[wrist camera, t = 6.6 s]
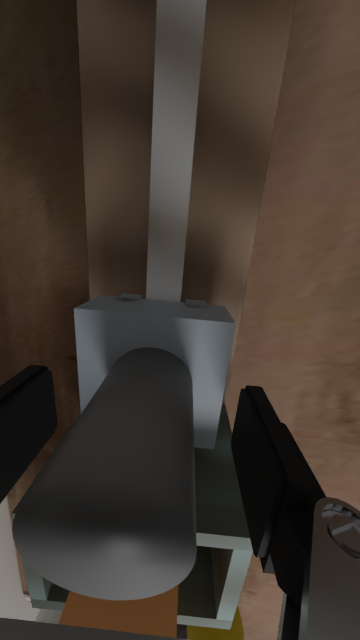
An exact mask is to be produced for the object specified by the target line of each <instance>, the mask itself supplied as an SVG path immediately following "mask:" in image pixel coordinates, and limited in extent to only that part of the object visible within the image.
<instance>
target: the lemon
mask: <svg viewBox="0 0 360 640" xmlns="http://www.w3.org/2000/svg"><path fill="white" fill-rule="evenodd" d="M187 639H190V640H244V632H243V625H242V620H241V616H240V612H239V608H238V605H237V608H236V611H235V615H234V618H233V621H232V625H231V628H230V630H229V629H220V628H211V627H202V626H193V625H187Z"/></svg>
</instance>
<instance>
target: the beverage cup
mask: <svg viewBox="0 0 360 640" xmlns="http://www.w3.org/2000/svg"><path fill="white" fill-rule="evenodd" d="M177 638H181V639H187V625H184V624H177Z"/></svg>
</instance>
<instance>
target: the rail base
mask: <svg viewBox="0 0 360 640" xmlns="http://www.w3.org/2000/svg"><path fill="white" fill-rule="evenodd" d="M295 4H296V0H77V21H78V44H79V67H80V90H81V113H82V137H83V160H84V183H85V206H86V229H87V252H88V275H89V298H90V300H91V299H94V298H96V297H98V296H100V295H106V296H117V297H118V296H120V295H122V294H123V293H125V294H136V295H143V299H150V300H162V301H173V302H184V303H185V302H186V299H192V300H203V301H206V303H207V305H217V306H225V307H226V309H227V310H228V312H229V314H230V315H231V317H232V318H233V320H234V321H235V323H236V324H235V329H234V335H233V341H232V347H231V353H230V359H229V365H228V371H227V377H226V383H225V389H224V395H223V401H222V406H221V412H220V418H219V424H218V430H217V436H216V442H215V448H214V449H207V448H197V447H194V460H195V500H196V541H197V553H196V560H195V564H194V566H193V568H192V570H191V572H190V573H189V574H188V576H187V577H186V578H185V579H184V580H183V581H182V582H181V583H180V584H178V608H177V624H184V625H193V626H202V627H211V628H220V629H229V630H230V628H231V625H232V621H233V618H234V615H235V611H236V608H237V604H238V601H239V597H240V594H241V591H242V587H243V584H244V580H245V577H246V573H247V570H248V566H249V563H250V560H251V556H252V553H253V549H252V545H251V540H250V535H249V530H248V526H247V521H246V516H245V512H244V507H243V502H242V497H241V493H240V488H239V483H238V479H237V474H236V469H235V464H234V460H233V455H232V450H231V438H232V432H231V428H230V423H229V419H228V415H227V410H226V406H225V404H226V399H227V393H228V387H229V382H230V376H231V370H232V364H233V359H234V353H235V347H236V342H237V336H238V330H239V324H240V319H241V313H242V307H243V302H244V296H245V290H246V284H247V279H248V273H249V267H250V262H251V256H252V250H253V244H254V239H255V233H256V227H257V222H258V216H259V210H260V204H261V199H262V193H263V187H264V182H265V176H266V170H267V164H268V159H269V153H270V147H271V141H272V136H273V130H274V124H275V119H276V113H277V107H278V101H279V96H280V90H281V84H282V79H283V73H284V67H285V61H286V56H287V50H288V44H289V39H290V33H291V27H292V21H293V16H294V10H295ZM80 415H81V412H80V413H79V415H78V416H77V418H76V419H75V421H74V422H73V424H72V425H71V427H70V428H69V430H68V431H67V433H66V434H65V436H64V437H63V439H62V440H61V441H60V443H59V444H58V446H57V447H56V449H55V450H54V452H53V453H52V455H51V456H50V458H49V459H48V461H47V462H46V464H45V465H44V467H43V468H42V470H41V471H40V472H39V474H38V475H37V477H36V478H35V480H34V481H33V483H32V484H31V486H30V487H29V489H28V490H27V492H26V493H25V495H24V496H23V498H22V499H21V501H20V502H19V503H18V505H17V506H16V508H15V509H14V511H13V512H12V516H13V520H14V517H15V514H16V512H17V510H18V508H19V507H20V505H21V504H22V502H23V501H24V499H25V498H26V496H27V495H28V493H29V492H30V490H31V489H32V487H33V486H34V484H35V483H36V481H37V480H38V478H39V477H40V475H41V474H42V472H43V471H44V469H45V468H46V466H47V465H48V463H49V462H50V460H51V459H52V457H53V456H54V454H55V453H56V451H57V450H58V448H59V447H60V445H61V444H62V442H63V441H64V439H65V438H66V436H67V435H68V433H69V432H70V430H71V429H72V427H73V426H74V424H75V423H76V421H77V420H78V418H79V417H80ZM21 557H22V556H21ZM22 562H23V566H24V571H25V575H26V580H27V585H28V589H29V594H30V598H31V603H32V607H33V608H40V609H49V610H58V611H63V609H64V606H65V603H66V600H67V598H68V595H69V592H70V591H69V590H67V589H64V588H62V587H60V586H58V585H56V584H54V583H52V582H51V581H49V580H47V579H46V578H44V577H43V576H41V575H40V574H39V573H37V572H36V571H35V570H34V569H33V568H32V567H31V566H30V565H29V564H28V563H27V562H26V561H25V560H24V558H23V557H22Z"/></svg>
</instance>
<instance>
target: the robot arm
mask: <svg viewBox="0 0 360 640" xmlns="http://www.w3.org/2000/svg"><path fill="white" fill-rule="evenodd" d="M56 426H57V416H56V407H55V398H54V389H53V379H52V372H51V371H50V370H48V368H47V367H46V366H39V365H30V366H28V367H27V368H25V369H24V370H22V371H21V372H20V373H18V374H17V375H15V376H14V377H13V378H11V379H10V380H8V381H7V382H6V383H4V384H3V385H1V386H0V503H1V502H2V501H3V499H4V498H5V497H6V495H7V494H8V493H9V491H10V490H11V489H12V487H13V486H14V485H15V483H16V482H17V481H18V479H19V478H20V477H21V475H22V474H23V473H24V471H25V470H26V469H27V467H28V466H29V465H30V463H31V462H32V461H33V459H34V458H35V457H36V455H37V454H38V453H39V451H40V450H41V449H42V447H43V446H44V445H45V443H46V442H47V441H48V439H49V438H50V437H51V435H52V434H53V433H54V431H55V429H56ZM231 450H232V455H233V460H234V464H235V469H236V474H237V479H238V483H239V488H240V493H241V497H242V502H243V507H244V512H245V516H246V521H247V526H248V530H249V535H250V540H251V545H252V549H253V553H254V555H255V557H260V560H261V565H262V569H263V573H271V574H275V576H276V579H277V583H278V586H279V587H280V588H281V589H282V590H283V591H284V595H283V602H282V609H281V616H280V623H279V630H278V638H277V640H360V511H359V510H357V509H356V508H354V507H353V506H351V505H350V504H348V503H346V502H344V501H341V500H339V499H336V498H331V497H326V496H325V494H324V492H323V490H322V488H321V487H320V485H319V483H318V481H317V479H316V478H315V476H314V474H313V472H312V471H311V469H310V467H309V465H308V463H307V462H306V460H305V458H304V456H303V454H302V453H301V451H300V449H299V447H298V445H297V444H296V442H295V440H294V438H293V436H292V435H291V433H290V431H289V429H288V428H287V426H286V425H285V424H284V423H281V422H280V420H279V418H278V416H277V415H276V413H275V411H274V409H273V407H272V405H271V403H270V401H269V400H268V398H267V396H266V394H265V392H264V390H263V388H262V387H259V386H248V385H247V386H246V388H245V389H241V392H240V397H239V402H238V407H237V412H236V417H235V423H234V428H233V433H232V438H231ZM62 612H63V611H58V610H49V609H40V610H39V613H38V615H37V617H36V620H35V621H25V620H17V619H8V618H0V640H190V639H181V638H173V637H165V636H156V635H148V634H139V633H131V632H123V631H114V630H106V629H97V628H88V627H79V626H70V625H61V624H58V623H59V620H60V617H61V615H62Z"/></svg>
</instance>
